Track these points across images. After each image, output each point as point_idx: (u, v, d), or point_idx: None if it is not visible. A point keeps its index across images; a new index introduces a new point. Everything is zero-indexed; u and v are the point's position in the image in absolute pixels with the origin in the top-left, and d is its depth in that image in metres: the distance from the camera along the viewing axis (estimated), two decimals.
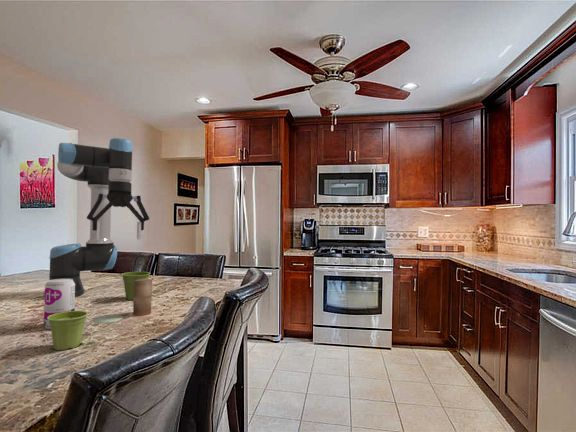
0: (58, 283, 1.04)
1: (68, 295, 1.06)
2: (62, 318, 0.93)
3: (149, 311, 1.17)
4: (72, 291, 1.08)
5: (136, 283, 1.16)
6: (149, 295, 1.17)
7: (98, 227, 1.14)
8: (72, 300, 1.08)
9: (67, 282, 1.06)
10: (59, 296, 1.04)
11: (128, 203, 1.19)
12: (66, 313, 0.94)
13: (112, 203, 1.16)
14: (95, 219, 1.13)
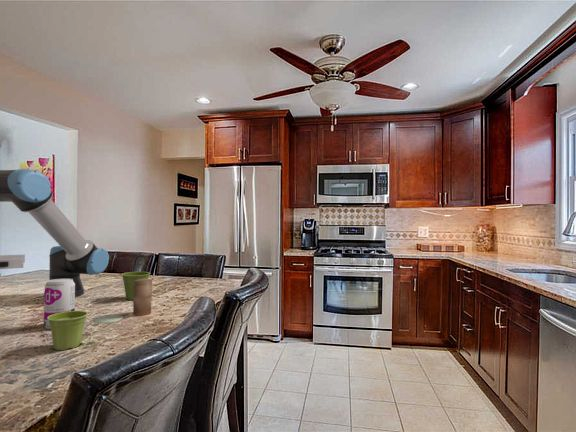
0: (58, 283, 1.04)
1: (68, 295, 1.06)
2: (61, 318, 0.93)
3: (149, 311, 1.17)
4: (72, 291, 1.08)
5: (136, 283, 1.16)
6: (149, 295, 1.17)
7: None
8: (72, 300, 1.08)
9: (67, 282, 1.06)
10: (59, 296, 1.04)
11: None
12: (66, 313, 0.94)
13: None
14: None
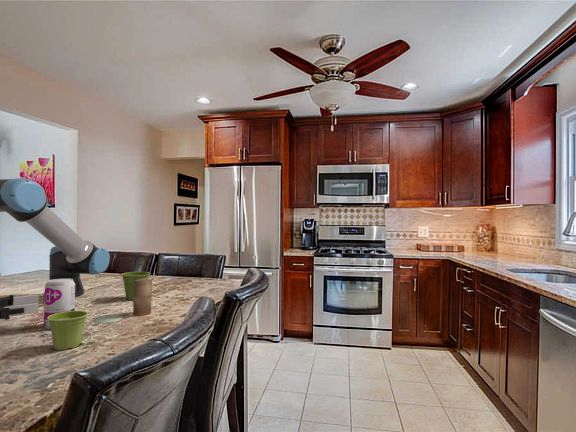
0: (58, 283, 1.04)
1: (68, 295, 1.06)
2: (62, 318, 0.93)
3: (149, 311, 1.17)
4: (72, 291, 1.08)
5: (136, 283, 1.16)
6: (149, 295, 1.17)
7: (21, 304, 1.06)
8: (72, 300, 1.08)
9: (67, 282, 1.06)
10: (59, 296, 1.04)
11: None
12: (66, 313, 0.94)
13: None
14: None
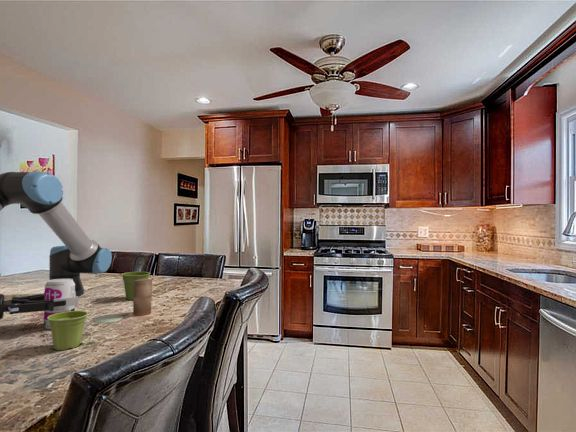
0: (58, 283, 1.04)
1: (68, 295, 1.06)
2: (62, 318, 0.93)
3: (149, 311, 1.17)
4: (72, 291, 1.08)
5: (136, 283, 1.16)
6: (149, 295, 1.17)
7: None
8: None
9: (67, 282, 1.06)
10: (59, 296, 1.04)
11: None
12: (66, 313, 0.94)
13: None
14: None
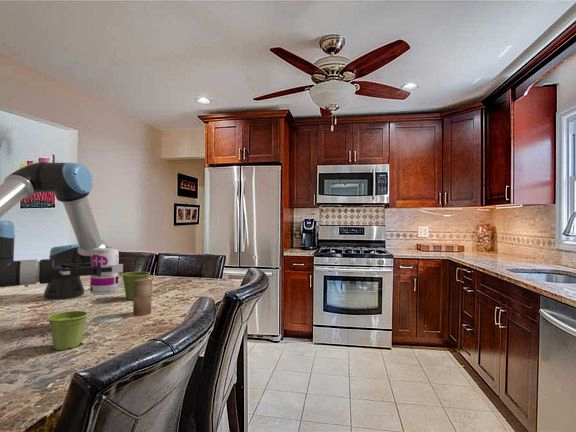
0: (104, 250, 1.08)
1: (113, 262, 1.09)
2: (62, 318, 0.93)
3: (149, 311, 1.17)
4: (117, 259, 1.11)
5: (136, 283, 1.16)
6: (149, 295, 1.17)
7: None
8: None
9: (112, 250, 1.10)
10: (105, 263, 1.07)
11: None
12: (66, 313, 0.94)
13: None
14: None
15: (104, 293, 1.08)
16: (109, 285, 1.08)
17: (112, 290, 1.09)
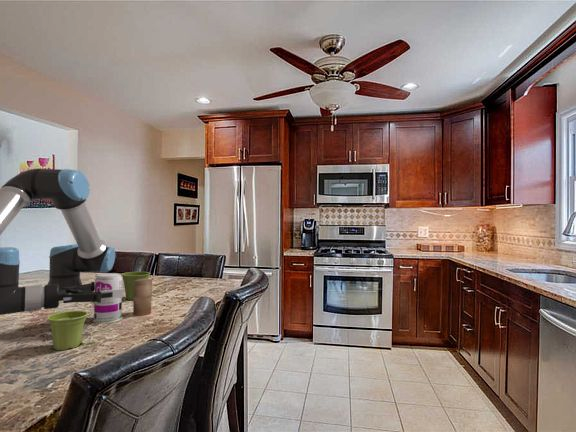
0: (108, 277, 1.09)
1: None
2: (61, 318, 0.93)
3: (149, 311, 1.17)
4: (120, 285, 1.12)
5: (136, 283, 1.16)
6: (149, 295, 1.17)
7: None
8: None
9: (116, 276, 1.10)
10: None
11: None
12: (66, 313, 0.94)
13: None
14: None
15: (108, 320, 1.08)
16: (113, 312, 1.09)
17: (116, 316, 1.10)
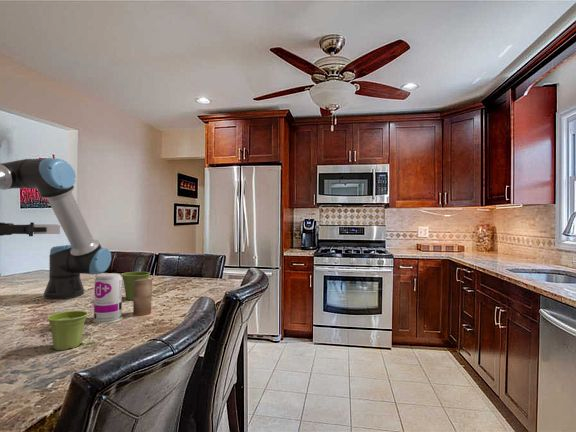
0: (108, 277, 1.09)
1: (116, 289, 1.10)
2: (61, 318, 0.93)
3: (149, 311, 1.17)
4: (120, 285, 1.12)
5: (136, 283, 1.16)
6: (149, 295, 1.17)
7: None
8: (120, 294, 1.12)
9: (116, 276, 1.10)
10: (109, 290, 1.08)
11: (4, 234, 0.97)
12: (66, 313, 0.94)
13: None
14: None
15: (108, 320, 1.08)
16: (113, 312, 1.09)
17: (116, 316, 1.10)
